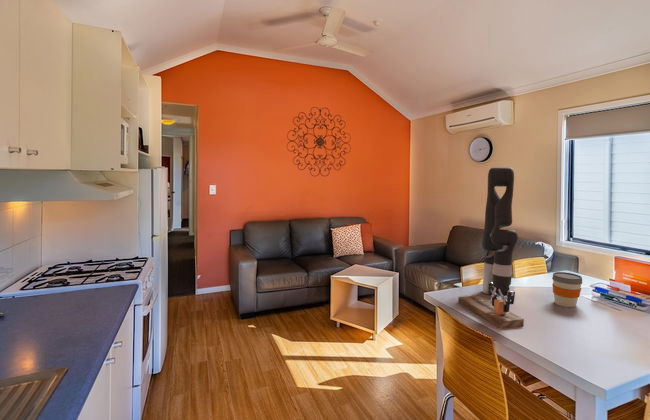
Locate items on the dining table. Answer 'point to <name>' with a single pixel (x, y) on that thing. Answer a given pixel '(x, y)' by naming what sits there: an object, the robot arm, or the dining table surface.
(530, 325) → the dining table surface
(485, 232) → the robot arm
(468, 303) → the brown wooden board
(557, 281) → the reusable coffee cup
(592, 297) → the dining table surface
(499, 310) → the fader tab
